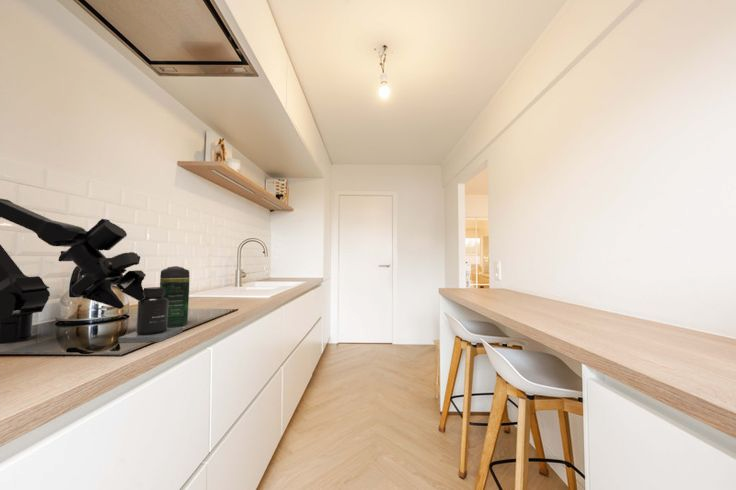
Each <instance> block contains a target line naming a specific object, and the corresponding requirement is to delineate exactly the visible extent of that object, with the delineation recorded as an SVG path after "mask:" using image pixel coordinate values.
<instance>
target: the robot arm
mask: <svg viewBox="0 0 736 490" xmlns="http://www.w3.org/2000/svg"><path fill="white" fill-rule="evenodd" d="M0 219H4V220H6V221H9V222H11V223H13V224H15V225H17V226H20V227H23V228H25V229H26V230H30V231H32V232H33V233H35V234H36V235H37V237H38V239H40V240H41V241H43V242H44V243H45V244H47V245H49V246H51V247H64V248H65V247H67V248H68V249H67V250H62V251H60V255H59V256H58V262H73V263H74V264H75V265H76V266H77V267H78V268H79V269H80V270H81V271H79V272H78V273H79V275H80V276H81V278H79V280H77V281H76V282H75V283H73V284H72V285H71V286H70V293H71V294H72V295H74V297H75V298H81V297H82V299H84V300H85V299H86V300H91V301H94V302H98V303H101V304H103V305H107V306H110V307H113V308H115V309H118V310H119V309H120V310H121V309H123V308H124V307H125V305H124V303H123V302H122V300H121V299H120V298H119V296H117V294H116V293H115V292H114V291H113V289H112V288H111V287H112V286H116V287H117V288H118V289H119V290H121V292H122V293H123V294H125V295H127V296H129V297H130V298H131V299H135V300H136V301H139V300H140V299H141V298H143V297H144V295H143V291H144V287H143V281H144V280H145V277H146V273H144V271H142V270H138V269H137V270H128V271H127V269H128V268H130V267H132V266H137V265H139V264H140V261H141V256H140V255H139V254H138V253H136V252H134V251H133V252H132V251H131V252H123V253H120V254H117V255H115V256H114V255H113V256H112V257H106V256H105V255H104V253H102V252H101V251H110V250H112V249H113V248H114V247H115V246H116V245H118V244H119V243H120V242H121V241H122V240H124V239H125V238H126V237H127V235H128V233H127V232H126V231H125V229H124V228H123V227H120V226H119V225H117V224H115V223H113V222H111V221H110V220H109V219H107V218H101V219H100V220H98V221H97V223H96V224H95V225H94V226H92V227H91V228H90V229H89V230H86V229H84V228H83V227H81V226H78V225H74V224H69V223H65V222H61V221H56V220H54V219H53V220H52V219H50V218H48V217H46V216H43V215H41V214H39V213H36V212H35V211H32V210H30V209H28V208H25V207H24V206H23V207H22V206H20V205H18V204H16V203H13V202H12V201H11V200H10V199H5V198H0ZM125 272H126V273H125ZM122 274H123V275H122ZM48 289H50V286H47V284H46V283H45V282H44V280H43V278H41V277H40V276H38V275H37V276H28V275H26V274H24V272H22V270H21V269H20V267H19V266H18V265H17V263H16V262H15V260H13V259H12V257H11V256H10V255H9V254H8V251H6V249H5V248H4V247H3V246H2V244H0V344H1V343H8V342H11V343H12V342H19V341H21V342H22V341H27V340H29V339H32V338H33V337H36V336H37V335H39V333H38V332H32V331H33V319H34V317H33V316H34V314H35V313H42V312H43V311H44V309H45V306H46V304H47V303H48V301H49V298H50V297H51V294H50V290H48Z"/></svg>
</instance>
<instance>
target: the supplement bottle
mask: <svg viewBox="0 0 736 490" xmlns="http://www.w3.org/2000/svg"><path fill="white" fill-rule="evenodd" d="M164 294H165V287H160V286H152V287H151V286H149V287H143V295H144V297H143V298H141V299H140V300H139V301H138V300H137V301H138V302H137V312H136V328H135V332H136V333H137V334H140V335H151V334H158V333H162V332H165V331H166V330H167V328H168V327H167V325H168V309H169V300H168V298H167V297H165V296H164Z"/></svg>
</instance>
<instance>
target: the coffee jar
mask: <svg viewBox="0 0 736 490" xmlns="http://www.w3.org/2000/svg"><path fill="white" fill-rule="evenodd" d="M159 287H165V294H164V296H165V297H167V298H168V300H169V309H168V325H167V328H178V327H179V326H184V325H186V324H187V323H188V321H189V319H188V318H189V303H190V302H189V301H190V270H189V269H186V268H184V267H183V266H177V265H176V266H175V265H174V266H168V267H167V268H164V269H162V270H161V271H160V278H159Z"/></svg>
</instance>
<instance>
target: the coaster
mask: <svg viewBox="0 0 736 490" xmlns="http://www.w3.org/2000/svg"><path fill="white" fill-rule="evenodd" d="M183 332H184V331H183V327H167V330H166V331H165V332H162V333H158V334H151V335H140V334H137V333H136V331H133V332H130V333H127V334H125V335H122V336H118V339H117V340H118V341H117V343H146V342H145V341H154V342H153V343H161V342H163V341H165V340H167V339H169V338H172V337H174V336H176V335H179V334H181V333H183Z"/></svg>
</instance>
